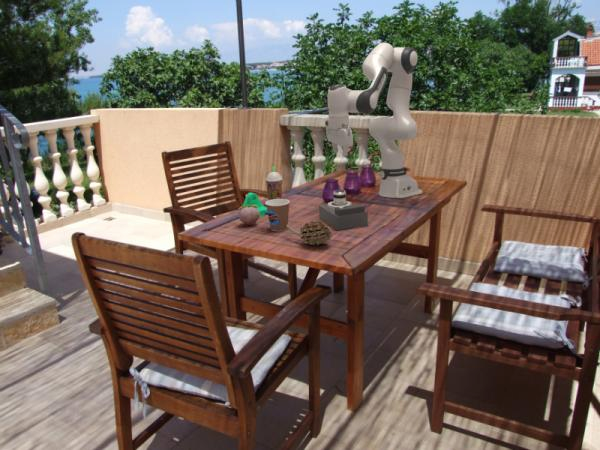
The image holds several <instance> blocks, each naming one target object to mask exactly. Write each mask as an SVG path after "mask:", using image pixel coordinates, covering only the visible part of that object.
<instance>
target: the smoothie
mask: <svg viewBox="0 0 600 450" xmlns="http://www.w3.org/2000/svg"><path fill="white" fill-rule="evenodd" d="M265 183H266V185H265V186H266V192H267V198H268V199H267V201H269V200H273V199H283V177H282V175H281V174H280V173H279V172H278V171H275V167H274V166H273V165H272V171H271V172H269V173H268V174H267V175H266V178H265Z"/></svg>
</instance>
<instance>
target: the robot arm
mask: <svg viewBox="0 0 600 450" xmlns="http://www.w3.org/2000/svg"><path fill="white" fill-rule="evenodd" d="M418 61H419V56H418V52H417V50H416V49H415V48H413V47H410V46H406V47H402V46H401V47H400V46H399V47H397V46H396V47H393V46H392V45H391V44H390V43H388V42H380V43H379V44H377V45H376V46H375V47H374V48H373V49H372V50H371V51H370V52H369V54H368V55H367V56H366V58H365V59H364V61H363V63H362V66H361V67H362V72H363V75H364V76H365V77H366V78H367V79H368V80H369V81H372V82H371V84H370V86H369V88H367V89H363V90H360V89H359V90H354V89H353V90H352V89H350V88H348V87H347V85H346V84H345V83H337V84H334V85H333V84H332V85H331V86H330V87H329V88H328V91H327V109H328V119H326V120H325V121H324V126H325V133H326V134H325V135H326V139H327V141H328V142H330V143H331V146H332V150H333V152H334V153H335V154H337V153H339V147H338V146H341V147H342V149H343V151H342V156H343V157H347V156H348V154H349V153H348V152H349V148H351V147H353V146H354V137H353V131H352V129H351V128H350V115H349V113H351V114H352V113H353V114H354V113H355V114H365V115H370V114H372V113H373V112H374V111H375V110H376V109H377V106H378V103H379V99H380V96H381V95H382V92H383V90H384V88H385V86H386V83H387V80H388V77H389V73H391V75H392V76H391V78H390V81H389V85H388V90H387V96H386V103H385V104H386V105H387V106H386V107H388V109H390V110H391V111H392V113H393V116H392V117H390V116H386V117H384V116H382V117H377V118H376V117H375V118H372V120H371V121H370V123H369V125H368V131H369V132H368V133H369V135H370V137H372V138H373V139H374V140H375V142H376V143H377V145H378V148H379V151H380V156H381V167H380V186H379V190H378V195H379V196H380V197H383V198H393V199H394V198H396V199H404V198H409V197H413V196H417V195H422V194H423V190H422V189H420V188H419V184H418V182H417V180H416V179H415V178H413V177H412V176H410V175H409V174H408V173H410V172H411V168H410V167H406V166H404V165H405V163H404V162H405V158H404V157H405V154H404V151H403V149H402V148H400V147H399V146H398V145H397V143H396V141H403V142H405V141H410V140H413V139H415V137H417V134H418V130H419V127H418V123H417V122H416V121H415V119H414V118H413V117H412V115H411V113H410V100H411V94H412V88H413V71H414V70H415V68H416V67H417V65H418Z"/></svg>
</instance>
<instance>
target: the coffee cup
mask: <svg viewBox="0 0 600 450" xmlns="http://www.w3.org/2000/svg"><path fill="white" fill-rule="evenodd" d="M290 202H291V201H290V200H289V199H285V198H282V199H273V200H269V201H268V200H266V201H265V207H267V212H268V213H267V216H268V221H269V222H268V223H269V226H270V229H271V231H272V232H277V231H278V232H284V230H285V231H287V230H288V229H287V227H286V226H287V225H288V226H289V213H290V211H289V210H290Z"/></svg>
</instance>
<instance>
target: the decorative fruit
mask: <svg viewBox="0 0 600 450" xmlns="http://www.w3.org/2000/svg"><path fill="white" fill-rule="evenodd" d="M247 204H248V203H247ZM256 207H258V206H257V205H247V206H243V205H241V206H239V207H238V209H237V211H238V218H239V221H241V223H243V224H244V225H248V226H251V225H253V224H255V223H256V222H258V220H259V218H260V217H259V210H258V209H257V208H256ZM258 208H259V207H258Z"/></svg>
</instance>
